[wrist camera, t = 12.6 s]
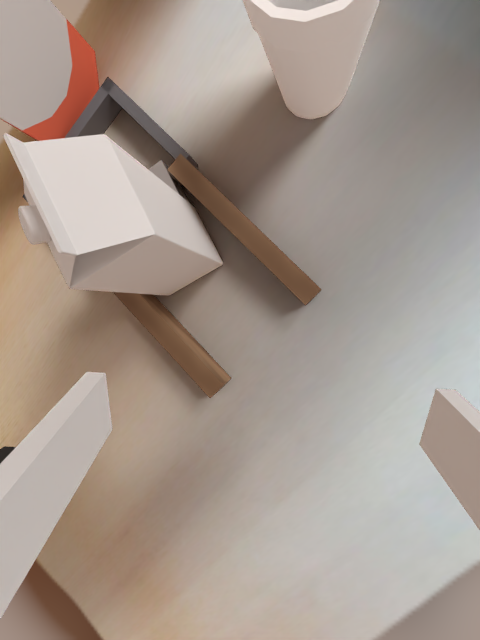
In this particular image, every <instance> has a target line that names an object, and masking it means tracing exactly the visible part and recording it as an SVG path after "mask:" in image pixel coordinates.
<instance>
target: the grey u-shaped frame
mask: <svg viewBox="0 0 480 640" xmlns="http://www.w3.org/2000/svg"><path fill="white" fill-rule="evenodd" d="M122 108H123V109H124V110H125V111H126V112H127V113H128V114H129V115H130V116H131V117H132V118H133V119H134V120H135V121H136V122H137V123H138V124H139V125H140V126H141V127H142V128H143V129H144V130H145V131H147V132H148V133H149V134H150V135H151V136H152V137H153V138H154V139H155V140H156V141H157V142H158V143H159V144H160V145H161V146H162V147H163V148H164V149H165V150H166V151H167V152H168V153H169V154H170V155H171V156H172V157H173V158H174V159H176V158H177V157H178V156H179V154H180V153H181V154H182V155H183V156H184V157H185V158H186V159H187V160H188V161H189V162H190V163H191V164H192V165H193V166H194V167H195V168H197V166H198V165H197V164H196V162H195V161H194V160H193V159H192V158H191V156H190V155H189V154H188V153H187V152H186V151H185V150H184V149H183V148H181V147H180V146H179V145H178V144H177V143H176V142H175V141H174V140H173V139H172V138H171V137H170V136H169V135H168V134H167V133H166V132H165V131H164V130H163V129H162V128H161V127H160V126H159V125H158V124H156V123H155V122H154V121H153V120H152V119H151V118H150V117H149V116H148V115H147V114H146V113H145V112H144V111H143V110H142V109H141V108H140V107H139V106H138V105H137V104H136V103H135V102H134V101H133V100H132V99H130V98H129V97H128V96H127V95H126V94H125V93H124V92H123V91H122V90H121V89H120V88H119V87H118V86H117V85H116V84H115V83H114V82H113V81H112V80H111V79H110V78H109V77H107V79H106V80H105V81H104V83H103V84H102V86H101V87H100V88H99V90H98V91H97V93H96V94H95V95H94V97H93V98H92V100H91V101H90V102H89V104H88V105H87V107H86V108H85V110H84V111H83V112H82V114H81V115H80V117H79V118H78V119H77V121H76V122H75V124H74V125H73V126H72V128H71V129H70V131H69V132H68V133H67V135H66V136H65V138H71V137H80V136H90V135H99V134H103V133H104V132H105V131H106V129H107V128H108V127H109V125H110V124H111V123H112V121H113V120H114V119H115V117H116V116H117V115H118V113H119V112H120V110H121V109H122ZM23 197H24V199H25V200H26V201H27V199H26V197H25V194H24V195H23ZM27 202H28V201H27Z"/></svg>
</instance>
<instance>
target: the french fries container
mask: <svg viewBox="0 0 480 640" xmlns="http://www.w3.org/2000/svg"><path fill="white" fill-rule="evenodd" d="M98 90H99V82H98V74H97V65H96V57H95V51H94V50H93V49H92V48H91V46H90V45H89V44H88V43H87V42H86V41H85V40H84V38H83V37H82V36H81V35H80V34H79V33H78V32H77V30H76V29H75V28H74V27H73V26H72V25H71V24H70V22H69V21H68V20H67V19H66V18H65V17H64V16H63V14H62V13H61V12H60V11H59V10H58V9H57V7H56V6H55V5H54V4H53V3H52V2H51V1H50V0H0V119H1V120H3V121H5V122H7V123H8V124H10V125H12V126H13V127H15V128H17V129H18V130H20V131H22V132H23V133H25V134H27V135H29V136H30V137H32V138H34V139H36V140H38V141H42V140H52V139H61V138H65V136H66V135H67V133H68V132H69V131H70V129H71V128H72V126H73V125H74V124H75V122H76V121H77V119H78V118H79V117H80V115H81V114H82V112H83V111H84V110H85V108H86V107H87V105H88V104H89V102H90V101H91V100H92V98H93V97H94V95H95V94H96V93H97V91H98Z"/></svg>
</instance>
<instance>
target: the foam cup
mask: <svg viewBox="0 0 480 640" xmlns="http://www.w3.org/2000/svg"><path fill="white" fill-rule="evenodd" d="M243 2H244V5H245V8H246V10H247V13H248V16H249V19H250V21H251V24H252V27H253V29H254V30H255V31H256V32H257V33H258V34H259V37H260V39H261V42H262V44H263V47H264V50H265V52H266V55H267V58H268V60H269V63H270V65H271V68H272V71H273V73H274V76H275V78H276V81H277V84H278V86H279V89H280V91H281V94H282V97H283V99H284V102H285V105H286V107H287V108H288V109H289V110H290V111H291V112H292V113H293V114H295V115H296V116H297V117H301V118H306V119H311V120H312V119H315V118H319V117H323V116H326V115H328V114H329V113H330V112H332V111H333V110H334V109H336V108H337V107H338V106H339V105H340V103H341V102H342V100H343V98H344V96H345V95H346V93H347V90H348V88H349V86H350V83H351V80H352V77H353V75H354V72H355V69H356V66H357V63H358V61H359V58H360V55H361V52H362V49H363V47H364V44H365V41H366V38H367V35H368V33H369V30H370V27H371V24H372V21H373V19H374V16H375V13H376V10H377V7H378V5H379V2H380V0H243Z"/></svg>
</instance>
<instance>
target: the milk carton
mask: <svg viewBox="0 0 480 640" xmlns="http://www.w3.org/2000/svg"><path fill="white" fill-rule="evenodd" d="M3 137H4V139H5V141H6V143H7V145H8V147H9V150H10V152H11V154H12V156H13V158H14V160H15V162H16V164H17V166H18V168H19V171H20V173H21V175H22V177H23V181H24V194H25V197H26V199H27V201H28V203H29V206H20V207H19V209H18V214H19V219H20V223H21V226H22V228H23V231H24V233H25V235H26V237H27V239H28V241H29V242H30V243H31V244H32V245H35V244H40V243H47V244H48V246H49V248H50V250H51V252H52V254H53V256H54V259H55V261H56V263H57V265H58V267H59V269H60V271H61V273H62V275H63V278H64V280H65V282H66V284H67V286H68V287H69V289H77V290H92V291H107V292H122V293H137V294H153V295H168V296H169V295H171V294H173V293H175V292H176V291H178V290H180V289H182V288H183V287H185V286H187V285H188V284H190V283H192V282H194V281H195V280H197V279H199V278H200V277H202V276H204V275H206V274H207V273H209V272H211V271H213V270H214V269H216V268H218V267H219V266H221V265H223V262H222V260H221V258H220V256H219V254H218V252H217V250H216V248H215V246H214V244H213V242H212V240H211V238H210V236H209V234H208V232H207V230H206V228H205V226H204V224H203V222H202V221H201V219H200V217H199V215H198V213H197V211H196V209H195V207H194V206H193V205H191V204H190V203H189V202H188V201H186V200H185V199H184V198H183V197H182V196H180V195H179V194H178V193H177V192H175V191H174V190H173V189H172V188H170V187H169V186H168V185H167V184H165V183H164V182H163V181H162V180H161V179H159V178H158V177H157V176H156V175H154V174H153V173H152V172H151V171H149V170H148V169H147V168H146V167H144V166H143V165H142V164H141V163H140V162H138V161H137V160H136V159H135V158H133V157H132V156H131V155H130V154H128V153H127V152H126V151H125V150H124V149H122V148H121V147H120V146H119V145H117V144H116V143H115V142H114V141H112V140H111V139H110V138H109V137H107V136H106V135H105V134H99V135H90V136H80V137H71V138H61V139H52V140H42V141H33V142H22V141H20V140H18V139H16V138H14V137H13V136H11V135H9V134H7V133H5V134H4V135H3Z"/></svg>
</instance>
